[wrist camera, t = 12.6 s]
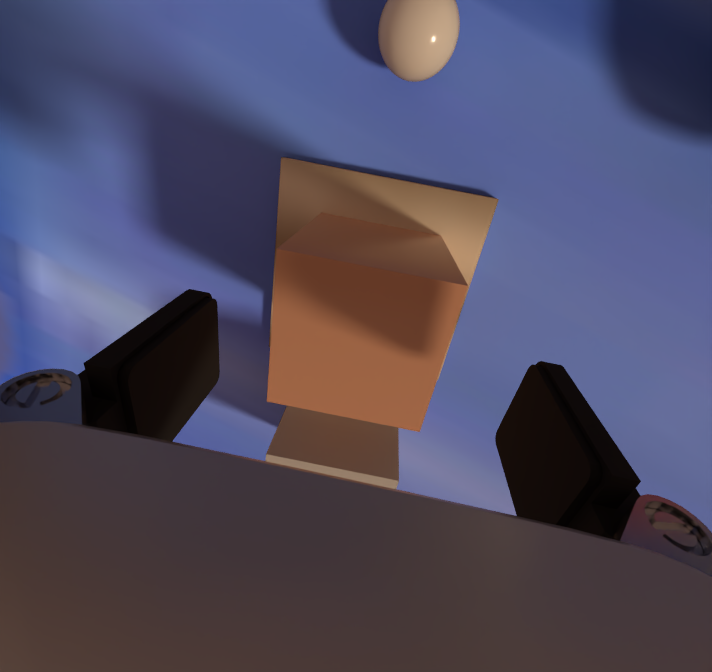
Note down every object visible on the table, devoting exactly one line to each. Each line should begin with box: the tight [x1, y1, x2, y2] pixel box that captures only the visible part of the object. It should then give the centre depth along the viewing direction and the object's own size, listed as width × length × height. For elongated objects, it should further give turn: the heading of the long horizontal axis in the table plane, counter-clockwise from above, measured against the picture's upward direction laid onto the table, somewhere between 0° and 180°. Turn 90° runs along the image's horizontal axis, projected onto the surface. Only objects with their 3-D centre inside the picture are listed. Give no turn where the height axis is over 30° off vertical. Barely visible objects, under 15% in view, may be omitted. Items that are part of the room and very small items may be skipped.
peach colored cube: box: [267, 212, 468, 432], centre depth 17 cm, size 6×6×8 cm
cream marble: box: [378, 0, 460, 82], centre depth 14 cm, size 3×3×3 cm
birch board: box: [269, 157, 499, 380], centre depth 21 cm, size 11×11×1 cm
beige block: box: [266, 406, 399, 489], centre depth 22 cm, size 6×6×8 cm
